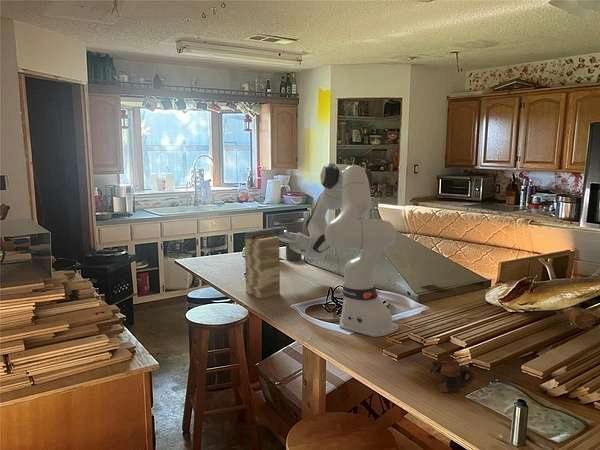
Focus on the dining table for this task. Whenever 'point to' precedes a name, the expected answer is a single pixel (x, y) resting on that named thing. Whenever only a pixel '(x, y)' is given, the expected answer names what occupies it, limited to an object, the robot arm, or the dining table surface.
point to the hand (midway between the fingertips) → (277, 230)
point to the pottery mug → (452, 375)
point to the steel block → (265, 232)
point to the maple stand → (262, 266)
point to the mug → (292, 254)
